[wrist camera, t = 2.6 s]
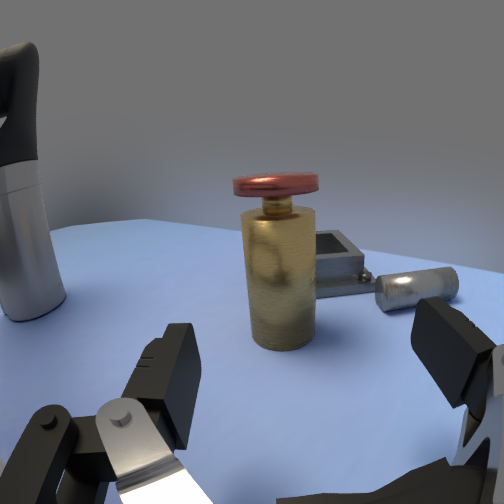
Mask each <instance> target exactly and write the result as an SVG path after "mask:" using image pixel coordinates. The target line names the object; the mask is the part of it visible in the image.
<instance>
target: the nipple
mask: <svg viewBox="0 0 504 504" xmlns="http://www.w3.org/2000/svg"><path fill="white" fill-rule="evenodd" d="M458 289H459V280H458V276H457V273H456V271H455V270H454V269H453V268H452V267H443V268H436V269H428V270H421V271H413V272H405V273H397V274H389V275H381V276H378V277H377V279H376V282H375V299H376V303H377V305H378V306H379V308H380V309H381V310H382V312H384V311H390V310H396V309H402V308H408V307H413V306H417V303H418V301H419V300H420V299H422V298H428V297H433V296H439V297H441V298H442V299H443V300H449V299H453V298H454V297H455V296H456V295H457V293H458Z"/></svg>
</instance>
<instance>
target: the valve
mask: <svg viewBox="0 0 504 504" xmlns="http://www.w3.org/2000/svg"><path fill="white" fill-rule="evenodd" d="M318 186H319V184H318V174H317V173H311V172H282V173H281V172H280V173H265V174H255V175H247V176H241V177H236V178H233V189H234V195H236V196H240V197H262V208H257V209H252V210H249V211H246V212H244V213H242V214H241V227H242V237H243V248H244V258H245V269H246V279H247V289H248V299H249V309H250V319H251V329H252V337H253V339H254V341H255V342H256V343H257V344H258V345H260V346H261V347H263V348H266V349H269V350H273V351H290V350H295V349H298V348H301V347H303V346H305V345H307V344H308V343H309V342H310V341H311V340H312V339H313V337H314V335H315V311H316V231H315V211H314V210H313V209H311V208H307V207H301V206H292V195H300V194H307V193H311V192H315V191H318V190H319V187H318Z"/></svg>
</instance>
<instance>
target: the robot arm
mask: <svg viewBox="0 0 504 504" xmlns="http://www.w3.org/2000/svg"><path fill="white" fill-rule="evenodd" d="M38 77H39V56H38V51H37V48H36V46H35V45H34V44H33V43H31V42H24V43H20V44H17V45H14V46H11V47H8V48H5V49H2V50H0V118H3V117H5V116H7V118H6V120H5V122H4V123H3V125H2V127H1V128H0V305H1V308H2V310H3V313H5V314H7V315H8V317H9V318H10V319H11V320H14V321H24V320H29V319H33V318H36V317H38V316H41V315H43V314H45V313H47V312H49V311H51V310H52V309H54V308H55V307H57V306H58V305H59V304H60V303H61V302H62V301H63V300H64V298H65V296H66V293H65V289H64V286H63V283H62V279H61V276H60V273H59V269H58V265H57V261H56V257H55V254H54V250H53V246H52V241H51V237H50V233H49V228H48V223H47V219H46V213H45V207H44V201H43V195H42V189H41V185H40V184H41V182H40V174H39V165H38V161H37V160H38V156H37V139H36V138H37V137H36V102H37V90H38ZM411 345H412V348H413V350H414V352H415V353H416V355H417V356H418V358H419V359H420V360H421V362H422V363H423V365H424V366H425V368H426V369H427V370H428V372H429V373H430V375H431V376H432V378H433V379H434V381H435V382H436V384H437V385H438V387H439V388H440V390H441V391H442V393H443V394H444V396H445V397H446V399H447V400H448V402H449V403H450V405H451V406H452V408H453V409H454V408H456V407H459V406H461V405H463V404H466V405H467V408H466V410H465V412H464V415H463V422H462V428H461V433H460V439H459V444H458V448H457V453H456V456H455V459H454V461H453V463H452V465H451V466H450V465H449V463H448V461H447V459H446V457H444V458H442V459H439V460H437V461H435V462H432V463H430V464H427V465H425V466H422V467H419V468H417V469H414V470H411V471H409V472H408V473H406V474H404V475H403V476H401V477H399V478H398V479H396V480H394V481H393V482H391V483H389V484H387V485H386V486H384V487H382V488H380V489H378V490H376V491H374V492H371V493H350V494H339V493H321V494H314V495H307V496H299V497H290V498H279V499H276V504H504V344H501V345H498V346H497V345H496V344H495V343H494V342H493V341H492V340H490V339H489V338H488V337H487V336H486V335H485V334H484V333H483V332H482V331H481V330H480V329H479V328H478V327H475V324H474V323H473V322H472V321H469V319H468V318H467V317H466V316H465V315H464V314H463V313H462V312H460V311H458V310H456V309H454V308H452V307H451V306H450V305H448V304H447V303H446V302H445V301H444V300H443V299H442V298H441V297H439V296H433V297H428V298H422V299H420V300H419V301H418V303H417V307H416V312H415V317H414V322H413V327H412V332H411ZM200 378H201V360H200V355H199V351H198V347H197V342H196V338H195V333H194V329H193V326H192V324H191V323H171V324H168V326H167V328H166V331H165V333H164V335H163V337H162V338H155V339H154V340H153V341H151V342H150V343H149V344H148V345H147V346H146V347H145V348H144V350H143V352H142V354H141V357H140V359H139V361H138V363H137V365H136V368H135V369H134V371H133V373H132V375H131V377H130V379H129V381H128V383H127V385H126V388H125V390H124V392H123V394H122V396H121V398H117V399H114V400H111V401H109V402H107V403H106V404H104V405H103V406H102V407H101V408H100V409H99V411H98V413H97V415H95V416H86V417H74V418H72V417H71V415H70V414H69V412H68V411H67V410H66V409H65V408H64V407H63V406H60V405H47V406H44V407H42V408H41V409H39V410H38V411H36V412H35V414H34V415H33V416H32V418H31V419H30V421H29V423H28V425H27V426H26V428H25V430H24V432H23V434H22V435H21V437H20V439H19V441H18V443H17V445H16V447H15V448H14V450H13V452H12V454H11V456H10V458H9V460H8V462H7V464H6V466H5V468H4V470H3V473H2V475H1V477H0V504H104V501H105V497H106V493H107V489H108V485H109V482H115V481H119V482H116V489H117V491H118V494H119V496H120V498H121V500H122V502H123V504H213V503H212V502H211V501H210V500H209V499H208V497H207V496H206V495H205V494H204V493H203V491H202V490H201V489H200V487H199V486H198V485H197V484H196V482H195V481H194V480H193V478H192V477H191V476H190V474H189V473H188V472H187V470H186V469H185V468H184V466H183V465H182V464H181V462H180V461H179V460H178V459H177V458H176V457H175V456H174V455H173V454H174V450H175V449H178V450H186V449H187V443H188V438H189V433H190V428H191V423H192V418H193V413H194V408H195V403H196V398H197V393H198V388H199V383H200ZM64 470H65V472H64V475H63V477H62V480H61V483H60V485H59V488H58V491H57V494H56V490H57V487H58V484H59V481H60V479H61V476H62V473H63V471H64Z"/></svg>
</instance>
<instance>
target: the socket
mask: <svg viewBox="0 0 504 504" xmlns="http://www.w3.org/2000/svg"><path fill="white" fill-rule="evenodd" d="M375 282H376V279H375V278H374V277H373V276H372V273H371V272H369V271H368V270H367V269H366V268H365V267H364V254H363V253H362V252H361V251H360V250H359V249H358V248H357V247H356V246H355V245H353V244H352V243H351V242H350V241H349V240H348V239H347V238H346V237H345V236H344V235H343V234H342V233H341V232H340V231H339V230H329V231H316V298H323V297H332V296H341V295H350V294H358V293H367V292H374V291H375Z"/></svg>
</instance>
